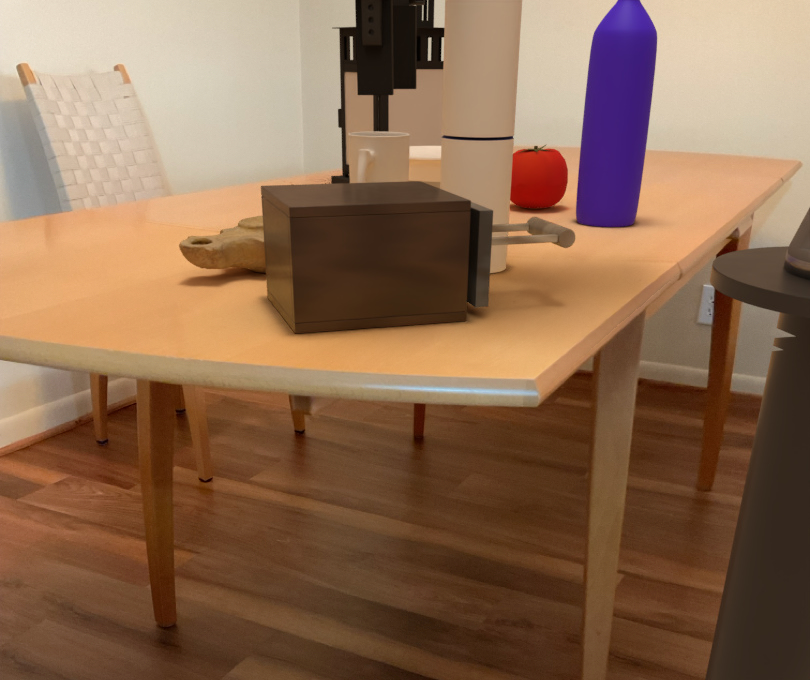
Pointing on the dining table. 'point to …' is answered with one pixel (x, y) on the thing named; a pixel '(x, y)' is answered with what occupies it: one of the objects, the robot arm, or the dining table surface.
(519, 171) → the tomato
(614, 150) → the bottle
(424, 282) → the cabinet
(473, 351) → the dining table surface
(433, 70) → the lantern
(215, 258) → the oil lamp
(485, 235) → the drawer
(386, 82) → the robot arm
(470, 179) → the cylindrical container
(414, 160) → the bowl
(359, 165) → the mug
